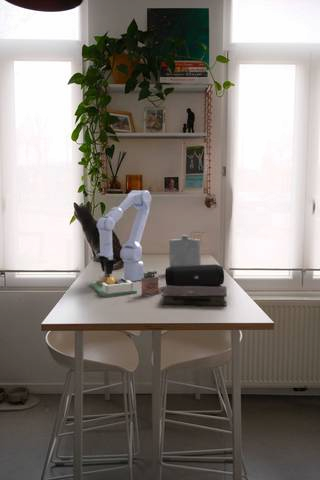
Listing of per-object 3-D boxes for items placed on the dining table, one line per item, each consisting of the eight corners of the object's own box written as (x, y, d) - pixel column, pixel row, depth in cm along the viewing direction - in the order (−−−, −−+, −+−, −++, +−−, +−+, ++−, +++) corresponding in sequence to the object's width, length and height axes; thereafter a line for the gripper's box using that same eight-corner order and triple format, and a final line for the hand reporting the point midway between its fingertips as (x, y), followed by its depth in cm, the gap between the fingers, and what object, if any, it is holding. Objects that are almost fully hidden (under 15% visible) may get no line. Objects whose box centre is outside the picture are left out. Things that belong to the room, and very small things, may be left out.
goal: (128, 287, 207) (128, 280, 206) (133, 290, 201) (132, 282, 201) (102, 290, 202) (102, 282, 202) (106, 293, 197) (106, 285, 196)
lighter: (143, 296, 196) (142, 273, 194) (140, 294, 199) (139, 271, 197) (160, 293, 199) (160, 271, 198) (156, 292, 202) (156, 269, 201)
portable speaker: (167, 290, 205) (167, 268, 204) (165, 285, 215) (164, 264, 214) (224, 288, 208) (224, 266, 207) (219, 283, 218) (219, 262, 216)
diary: (167, 295, 199) (167, 284, 199) (226, 297, 196) (226, 285, 195) (161, 307, 181) (161, 294, 180) (226, 308, 178) (226, 295, 177)
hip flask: (169, 274, 240) (169, 235, 237) (170, 272, 244) (169, 234, 241) (200, 274, 239) (200, 235, 236) (200, 272, 243) (200, 234, 240)
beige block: (112, 280, 220) (111, 264, 219) (115, 282, 216) (114, 266, 215) (99, 282, 218) (99, 265, 217) (102, 284, 214) (102, 267, 213)
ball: (113, 284, 214) (113, 275, 214) (116, 286, 210) (116, 277, 210) (105, 285, 213) (105, 276, 212) (107, 287, 209) (107, 278, 208)
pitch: (120, 282, 223) (120, 278, 222) (136, 293, 202) (136, 288, 201) (90, 285, 217) (89, 281, 217) (103, 296, 196) (103, 292, 196)
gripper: (93, 242, 220) (94, 270, 222) (101, 246, 206) (102, 276, 208) (108, 241, 222) (109, 269, 224) (117, 245, 209) (117, 275, 211)
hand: (107, 272), depth 216 cm, fingers open, 7 cm apart
